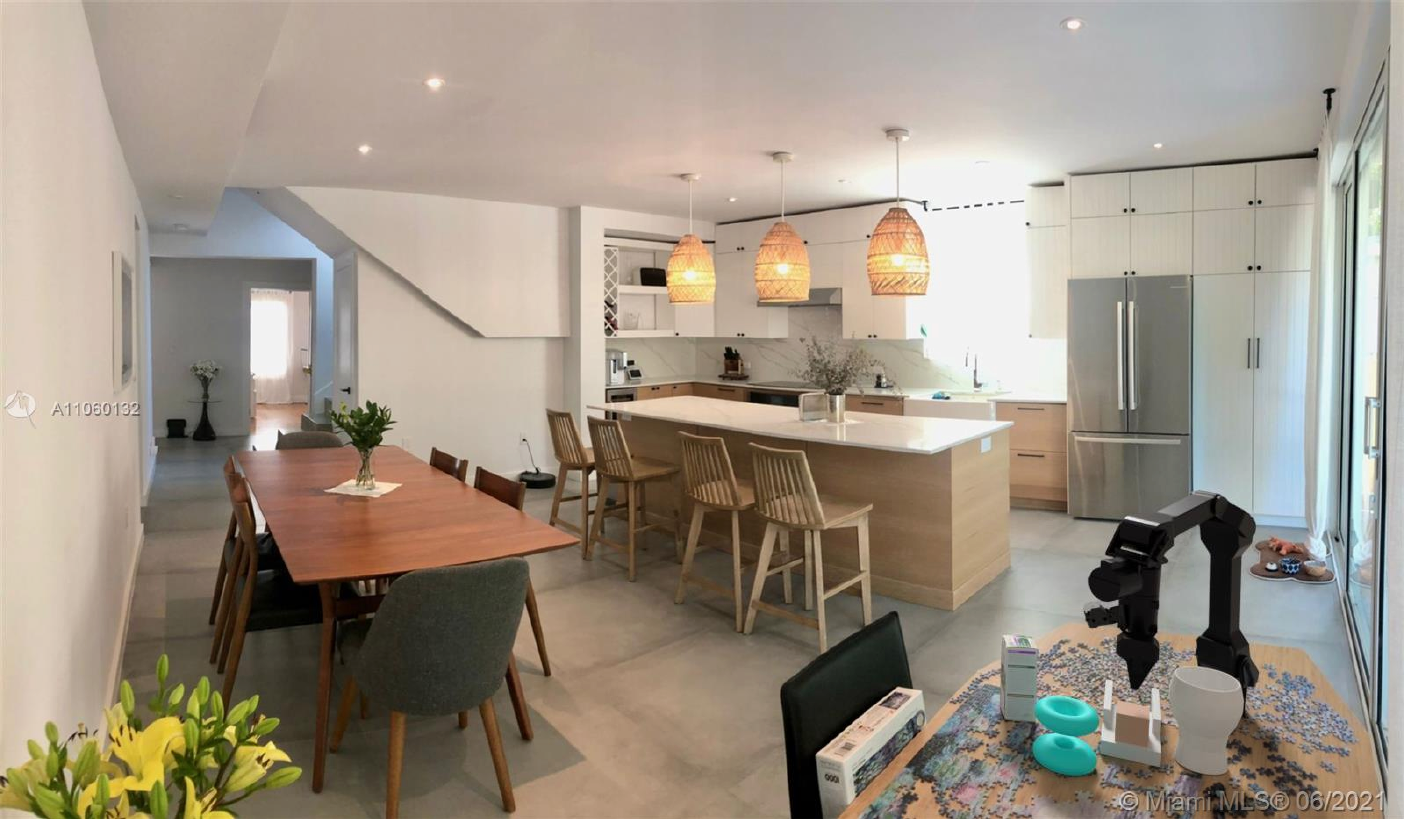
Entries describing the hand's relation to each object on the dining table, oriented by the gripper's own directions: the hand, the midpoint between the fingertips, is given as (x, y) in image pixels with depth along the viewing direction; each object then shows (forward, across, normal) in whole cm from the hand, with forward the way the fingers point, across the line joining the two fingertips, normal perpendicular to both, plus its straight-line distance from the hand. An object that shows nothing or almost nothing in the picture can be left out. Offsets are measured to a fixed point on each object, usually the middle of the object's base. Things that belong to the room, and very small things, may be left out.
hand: (1134, 678), depth 140 cm
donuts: (+13, +10, -10) cm, 19 cm away
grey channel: (+13, -6, 0) cm, 15 cm away
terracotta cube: (+10, 0, 0) cm, 11 cm away
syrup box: (+13, -4, -19) cm, 23 cm away
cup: (+13, -1, +11) cm, 17 cm away
